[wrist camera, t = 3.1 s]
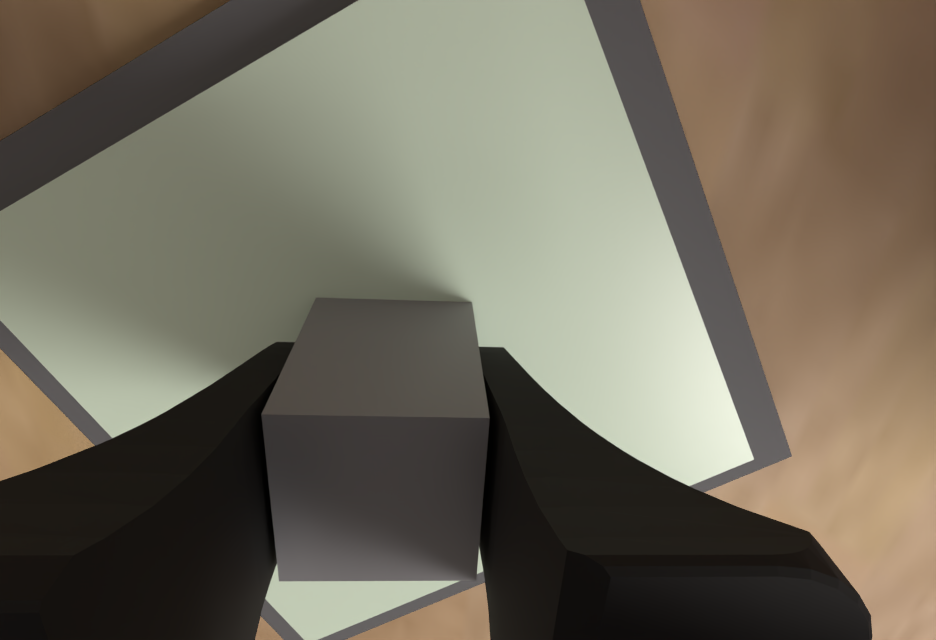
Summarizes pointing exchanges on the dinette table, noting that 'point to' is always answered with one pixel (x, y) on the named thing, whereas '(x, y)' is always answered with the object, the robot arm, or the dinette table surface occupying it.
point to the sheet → (380, 280)
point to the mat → (292, 13)
